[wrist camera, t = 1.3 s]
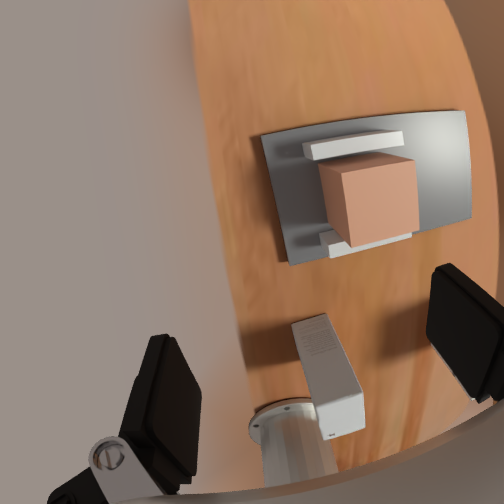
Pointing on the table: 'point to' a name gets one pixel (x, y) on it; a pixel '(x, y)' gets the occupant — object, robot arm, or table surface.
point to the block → (370, 197)
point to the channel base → (360, 143)
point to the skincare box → (329, 377)
